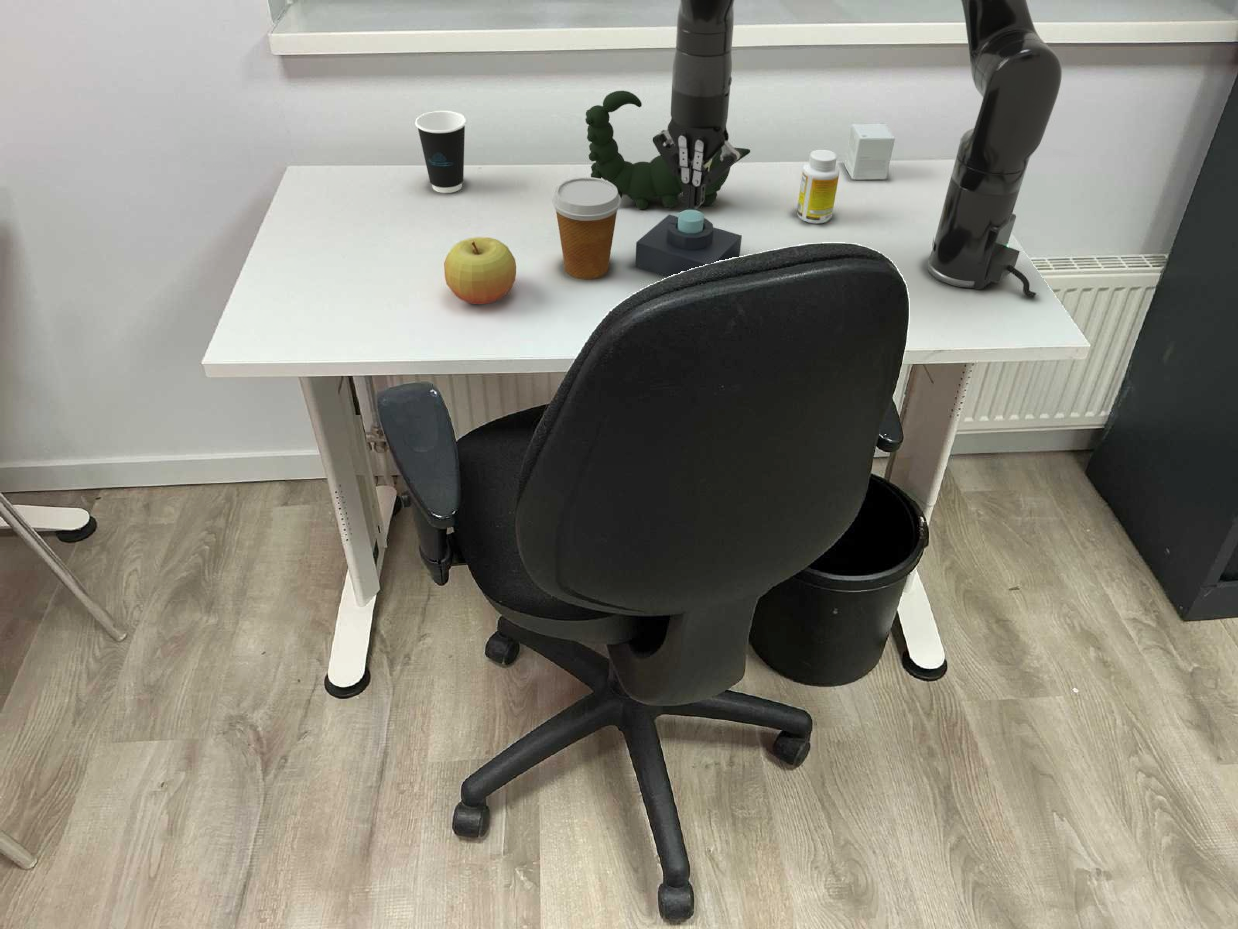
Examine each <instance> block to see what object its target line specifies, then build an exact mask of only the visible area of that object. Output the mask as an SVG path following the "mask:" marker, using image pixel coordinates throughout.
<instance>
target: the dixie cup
mask: <svg viewBox="0 0 1238 929" xmlns="http://www.w3.org/2000/svg"><path fill="white" fill-rule="evenodd" d="M466 124H467V118H466V116H464V115H463V114H461V113H460V112H456V111H451V110H434V111H429V112H424V113H423V114H421V115H419V116H418V117H417V118H416V119H415V121H414V125H415V126H416V128H417V130H418V136H419V139H420V144H421V149H422V152H423V157H424V162H425V166H426V171H427V175H428V179H429V183H430V184H431V186H432V189H433V190H434V191H435V192H436V193H441V194H451V193H455V192H457V191H460V190H461V189H462V187H463V182H464V176H465V175H464V174H465V137H466V136H465V134H466Z"/></svg>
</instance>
